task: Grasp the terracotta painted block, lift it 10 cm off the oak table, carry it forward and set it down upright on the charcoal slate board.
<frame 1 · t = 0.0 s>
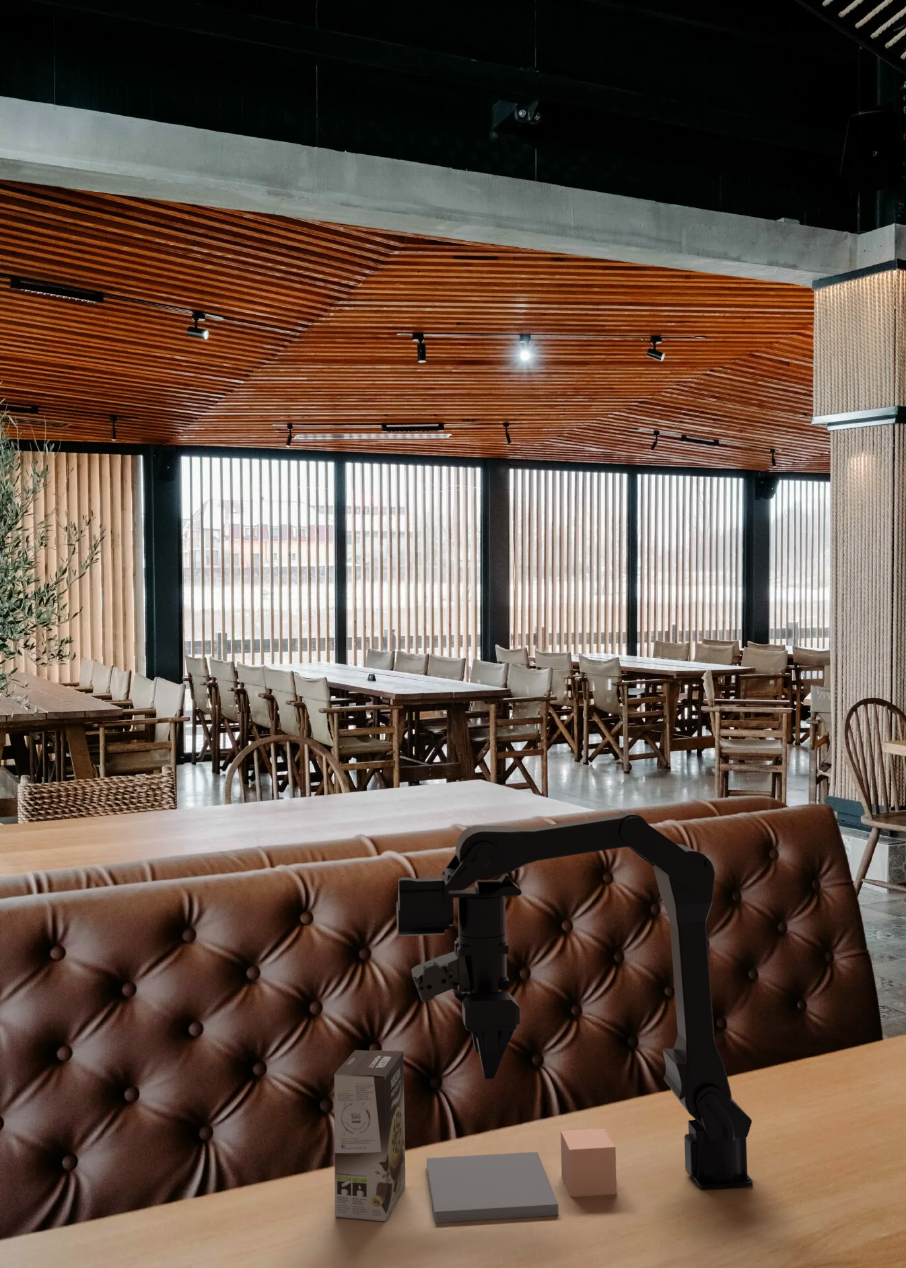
hand: (484, 1065, 130), 15 cm above the table, fingers open, 9 cm apart
terracotta block: (588, 1185, 131), on the table
slate board: (489, 1190, 130), on the table
coffee box: (371, 1203, 127), on the table
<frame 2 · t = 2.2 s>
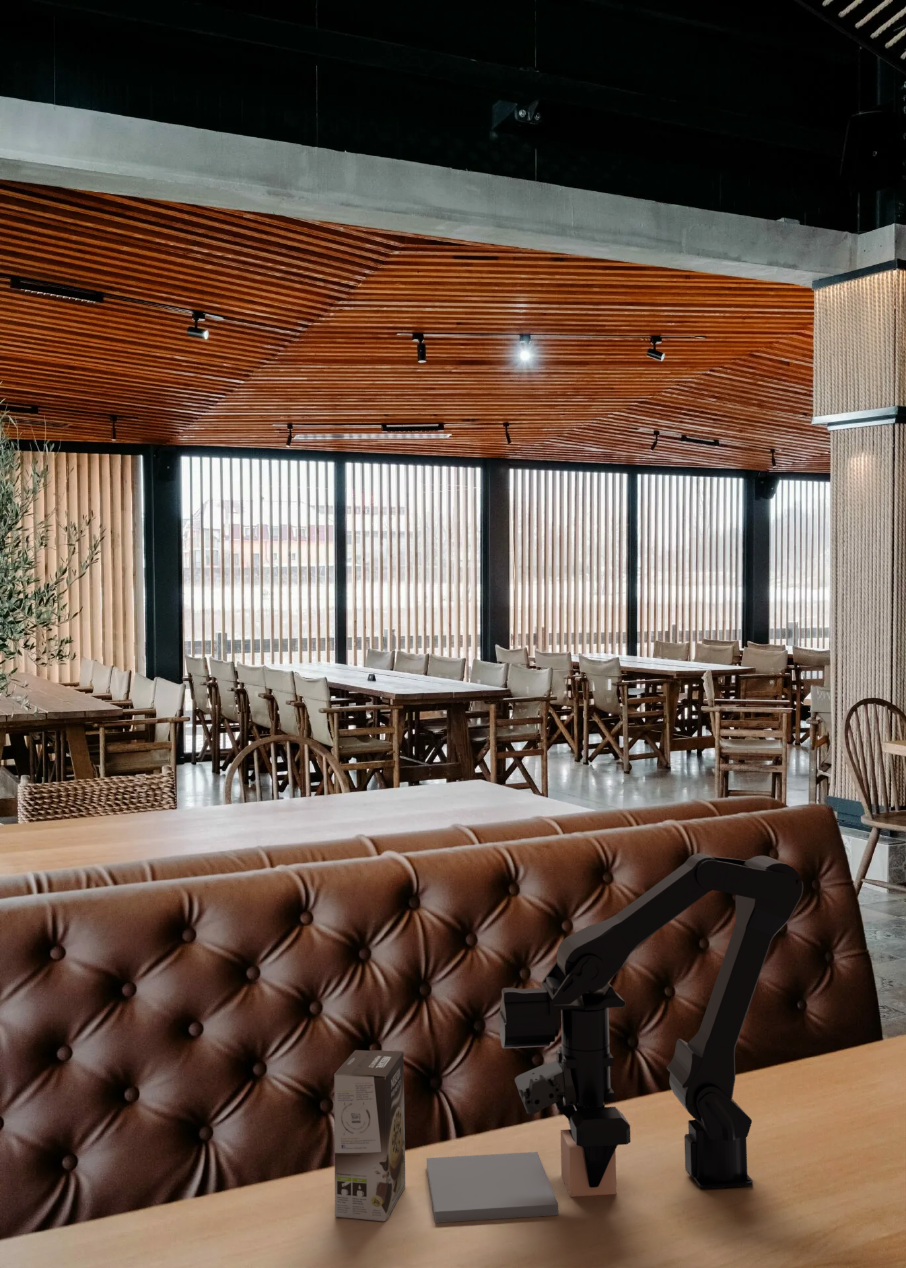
hand: (588, 1175, 131), 1 cm above the table, fingers closed on terracotta block, 5 cm apart
terracotta block: (588, 1184, 131), on the table, touching gripper
everything else where it was.
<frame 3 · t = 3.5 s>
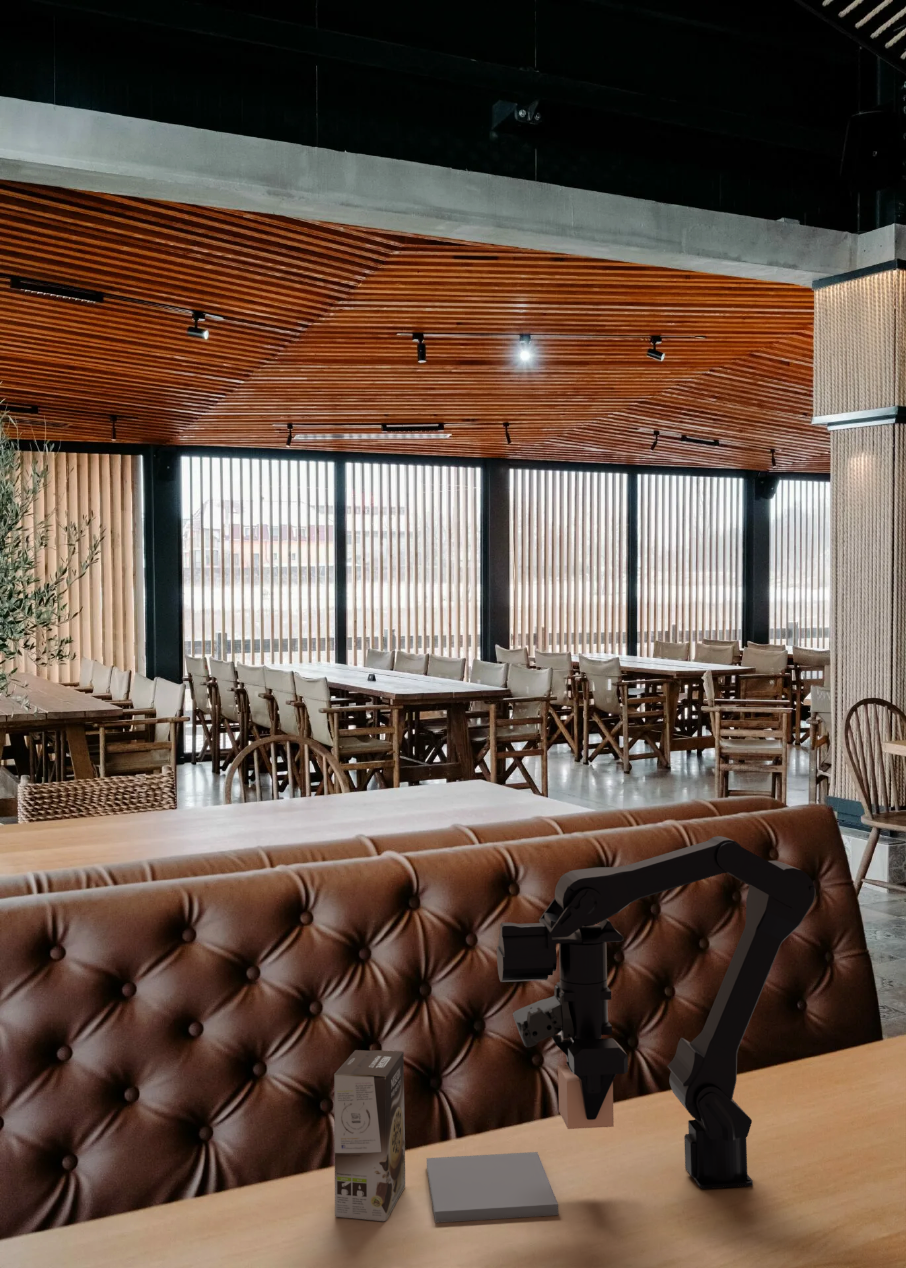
hand: (585, 1109, 131), 9 cm above the table, fingers closed on terracotta block, 5 cm apart
terracotta block: (585, 1118, 131), point 8 cm above the table, touching gripper
everything else where it was.
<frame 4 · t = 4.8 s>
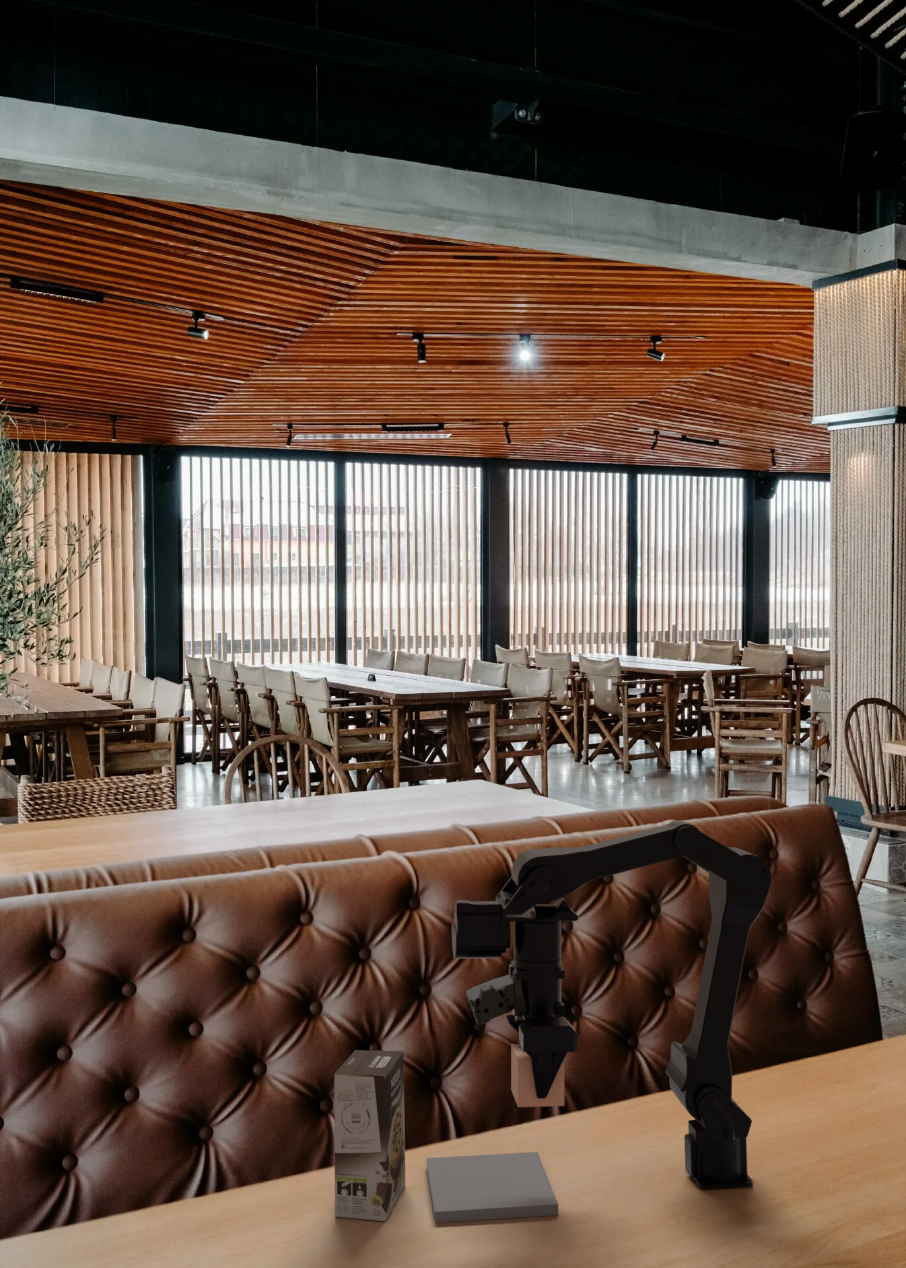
hand: (537, 1089, 131), 12 cm above the table, fingers closed on terracotta block, 5 cm apart
terracotta block: (537, 1097, 131), point 11 cm above the table, touching gripper
everything else where it was.
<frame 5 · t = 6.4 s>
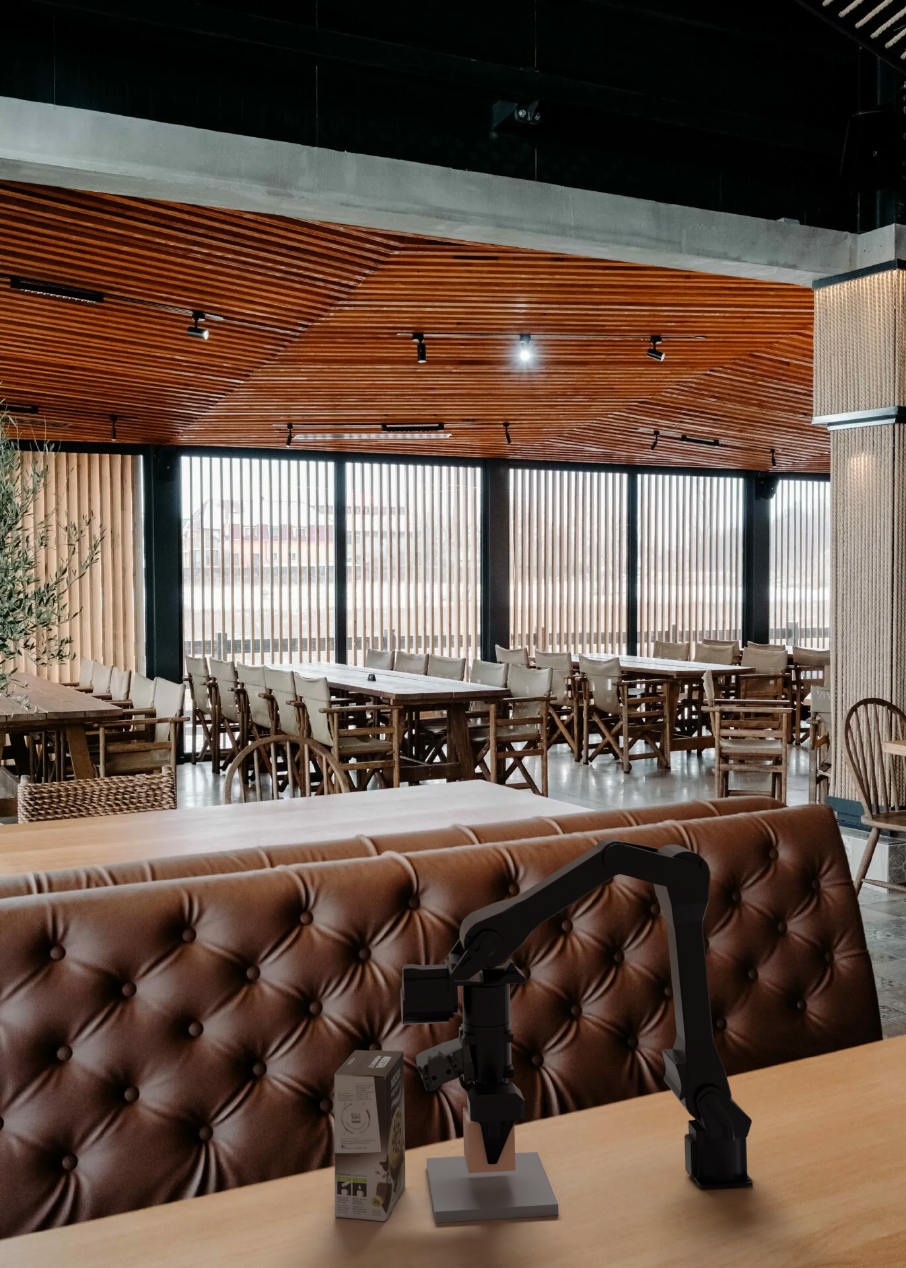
hand: (489, 1153, 130), 4 cm above the table, fingers closed on terracotta block, 5 cm apart
terracotta block: (489, 1161, 130), point 3 cm above the table, touching gripper
everything else where it was.
when the fingers open (4 cm above the table, at t = 7.4 s): terracotta block drops 1 cm, resting on slate board.
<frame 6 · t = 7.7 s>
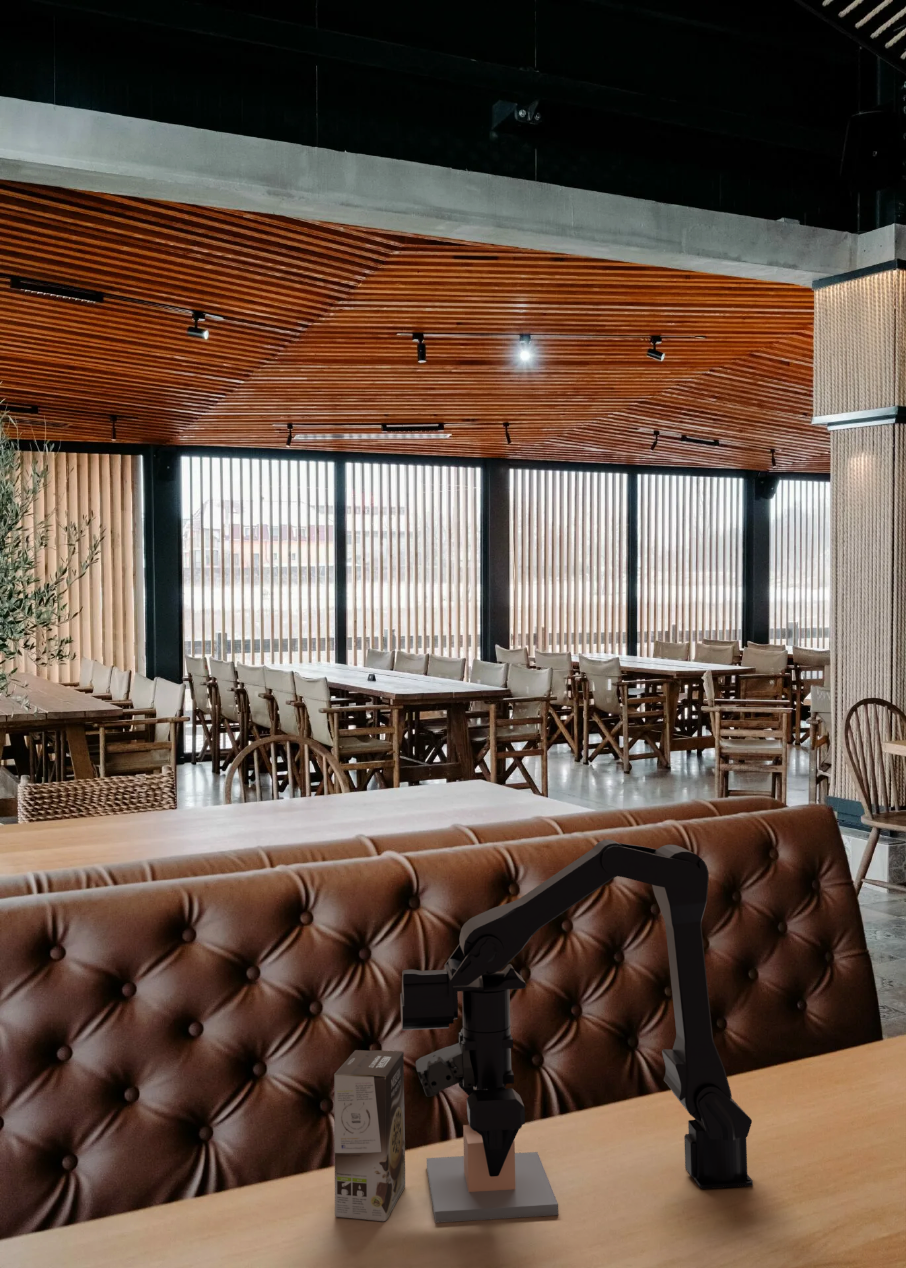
hand: (489, 1158, 130), 4 cm above the table, fingers open, 9 cm apart
terracotta block: (489, 1180, 130), point 1 cm above the table, touching slate board
everything else where it was.
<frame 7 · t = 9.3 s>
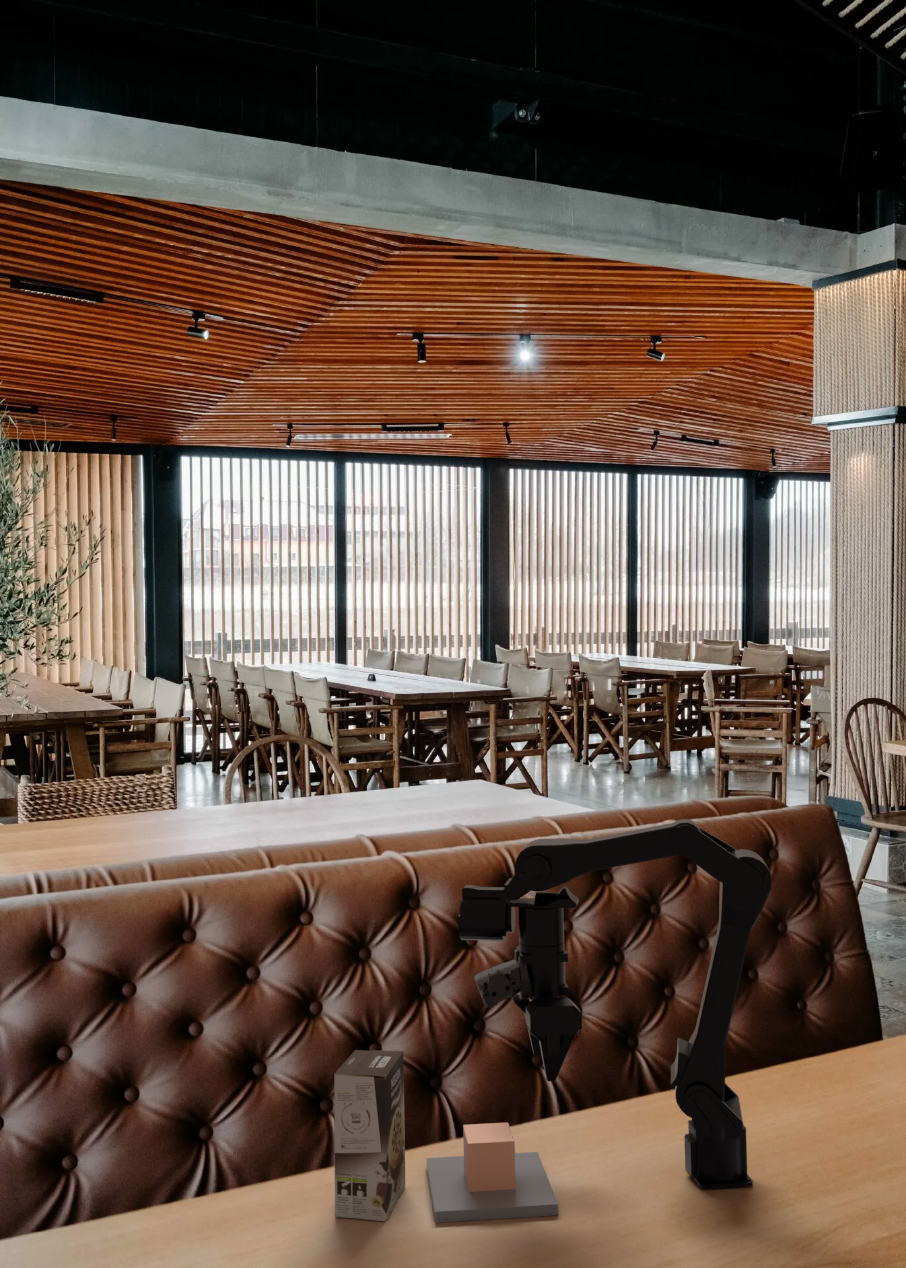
hand: (544, 1067, 137), 12 cm above the table, fingers open, 9 cm apart
nothing on the table moved.
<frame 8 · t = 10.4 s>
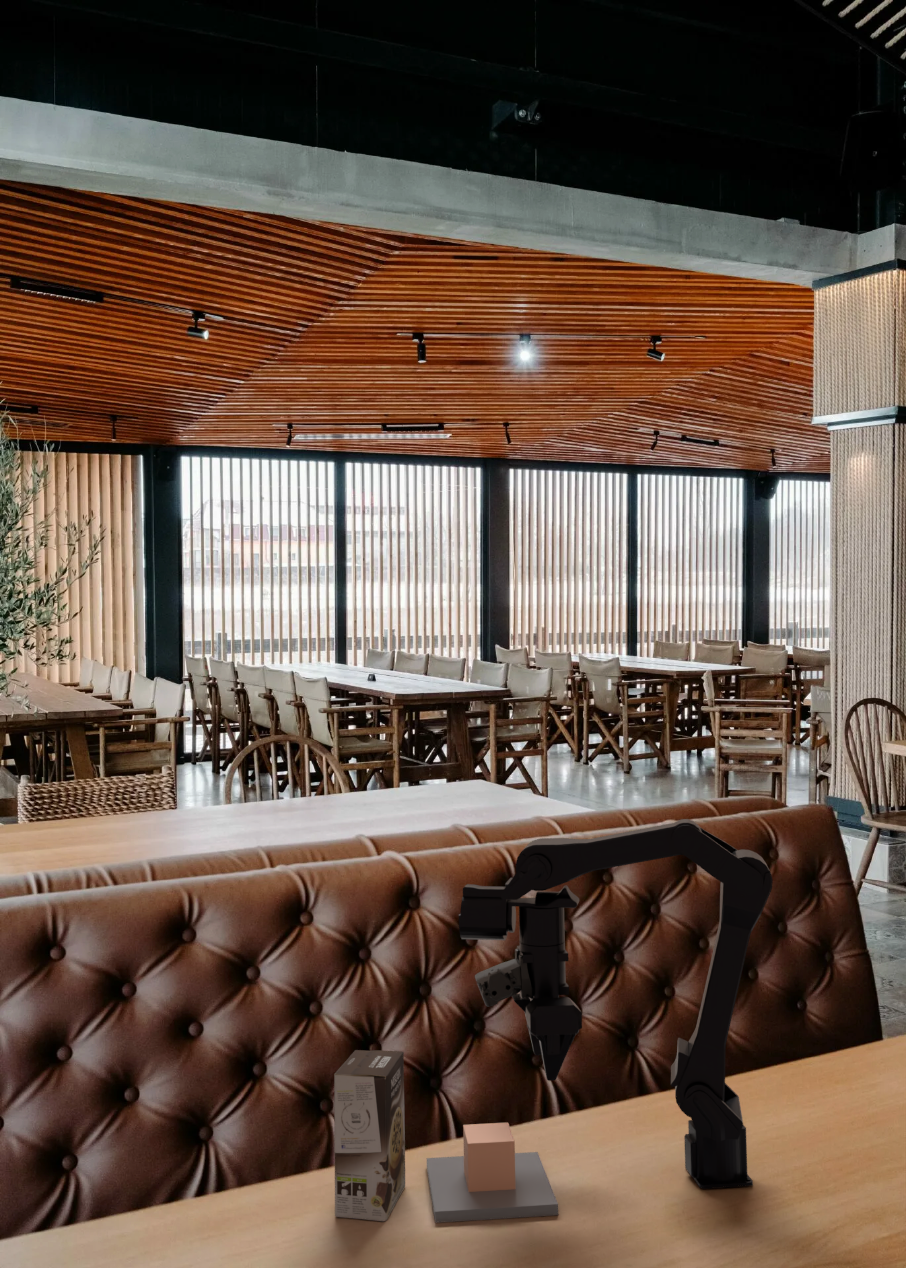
hand: (544, 1067, 137), 12 cm above the table, fingers open, 9 cm apart
nothing on the table moved.
at the end: terracotta block inside the target area on the slate board (0.0 cm from its centre), point 1.2 cm above the slate board's base; terracotta block tilted 0°; the gripper is holding nothing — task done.
